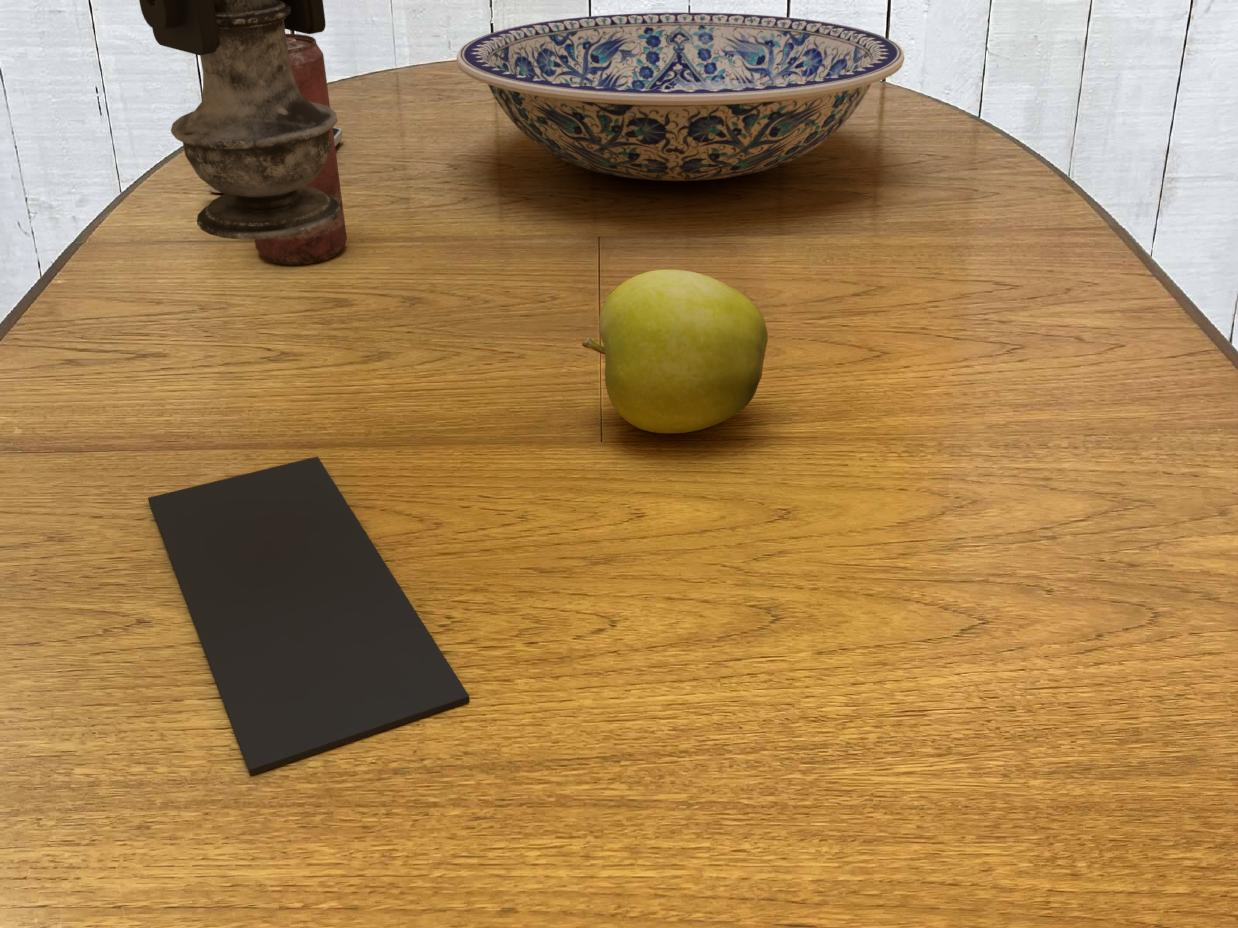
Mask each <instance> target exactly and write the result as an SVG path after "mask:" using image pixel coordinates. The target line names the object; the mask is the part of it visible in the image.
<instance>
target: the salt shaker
mask: <svg viewBox="0 0 1238 928" xmlns="http://www.w3.org/2000/svg"><path fill="white" fill-rule="evenodd" d="M213 2H214V8H215V14H216V20H217V26H218V32H219V38H220V46H219V47H218V48H217V49H216V52H214V53H210V54H205V55H199V58H200V63H201V68H202V69H201V70H202V95H201V102H200V103H199V104H198V105H197V107H196V108H195V109H194V110H193V111H190V112H188V113H186V114H183V115H182V116H180V117H178V118H177V119H176V120H175V121H174V122H173V123H172V125H171V127H170V132H171V134H172V136H174V138H175V139H176V140H177V141H180V142H182V145H183V151H184V156H185V157H186V159H187V161H188V163H189V164H190V166H191V167H192V169H193V170H194V172H195V174H196V175H197V176H198V178H199V179H200V180H202V181H203V182H204V183H206V184H207V185H208V186H209V185H210V186H211V187H212V188H214V189H215V190H217V191H219V192H221V193H220V194H221V195H220V196H218V197H216V198H214V199H213V200H212V201H210V203H209V204H208V205H206V206H204V207H203V208H202V210H200V212H198V214H197V218H196V225H197V226H198V228H199V229H200V230H201V231H202V232H205V233H207V234H209V235H210V236H214V237H219V238H223V239H231V240H240V241H241V240H242V241H246V240H249V241H251V240H253V241H254V240H261V239H273V238H282V237H287V236H293V235H299V234H302V233H306V232H309V231H313V230H316V229H318V228H321V227H323V226H325V225H328V224H329V223H331V222H332V221H334V220H335V219H336V218H337V217H338V216H339V214H340V213H341V211H340V203H339V202H338V201H336V200H335V199H334V198H333V197H331V196H329V195H327V194H325V193H323V192H322V191H320V190H317V189H315V188H311V187H307V185H308V184H310V183H311V182H313V180H314V179H315V178H316V177H317V175H318V174H319V173H320V172H321V170H322V169H323V168H324V166H325V165H326V163H327V159H328V156H329V152H330V148H331V137H330V130H331V129H332V128H333V127H335V125H336V124H337V123H338V116H337V112H336V111H335V110H333V109H332V108H331V107H330V108H329V107H327V106H324V105H322V104H319V103H314V102H310V101H308V100H307V99H305V98H304V97H303V96H302V95H301V94H300V92H299V89H298V87H297V84H296V82H295V79H294V76H293V73H292V70H291V67H290V62H289V55H288V48H287V40H286V34H287V33H286V29H285V26H284V19H285V18H286V16H287V15H289V14H290V13H291V7H290V6H289V5H287V4H285V3H284V2H282V1H280V0H213Z"/></svg>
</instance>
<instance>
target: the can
mask: <svg viewBox="0 0 1238 928" xmlns="http://www.w3.org/2000/svg"><path fill="white" fill-rule="evenodd" d="M286 40H287V48H288V55H289V62H290V67H291V70H292V73H293V76H294V79H295V82H296V84H297V87H298V89H299V92H300V94H301V95H302V96H303V97H304V98H305V99H307V100H308V101H310V102H314V103H319V104H322V105H324V106H327V107H329V108H331V104H330V96H329V88H328V87H329V86H328V82H327V81H328V79H327V72H326V66H325V56H324V53H323V50H322V49H321V47H319V45H318V43H317V39H316V38H314V36H310V35H308V34H300V33H286ZM330 137H331V148H330V152H329V156H328V159H327V163H326V165H325V166H324V168H323V169H322V170H321V172H320V173H319V174H318V175H317V177H316V178H315V179H314V180H313V182H311V183H310V184H308V185H307V187H311V188H315V189H317V190H320V191H322V192H323V193H325V194H327V195H329V196H331V197H333V198H334V199H335V200H336V201H338V202H339V203H340V211H341V213H340V214H339V216H338V217H337V218H336V219H335V220H334V221H332V222H331V223H329V224H328V225H325V226H323V227H321V228H318V229H316V230H313V231H309V232H306V233H302V234H299V235H293V236H287V237H282V238H273V239H261V240H253V241H254V246H255V249H256V251H257V252H258V254H259V255H260V256H261V257H262V258H263V259H264V260H266V261H267V262H269V263H273V264H276V265H281V266H282V265H285V266H302V265H303V266H305V265H310V264H316V263H320V262H324V261H328V260H330V259H333V258H334V257H337V256H338V255H339V254H341V252H342V251H343V250H344V247H345V245H346V243H347V239H348V235H347V228H346V221H345V214H344V213H345V212H344V206H343V198H342V189H341V182H340V173H339V166H338V159H337V151H336V146H335V142H334V134H333V128H332V129H331V130H330Z"/></svg>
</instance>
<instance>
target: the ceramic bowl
mask: <svg viewBox="0 0 1238 928" xmlns="http://www.w3.org/2000/svg"><path fill="white" fill-rule="evenodd" d="M904 61H905V52H904V50H903V48H902V47H901V45H899V44H898V43H896V42H895V41H893V40H891V39H889V38H888V37H885V36H882V35H880V34H877V33H874V32H871V31H868V30H864V29H860V28H857V27H853V26H848V25H844V24H838V23H832V22H827V21H821V20H820V21H819V20H814V19H807V18H797V17H788V16H777V15H766V14H751V13H750V14H749V13H731V12H729V13H728V12H640V13H639V12H638V13H637V12H636V13H619V14H616V13H615V14H603V15H602V14H601V15H592V16H589V15H588V16H579V17H569V18H562V19H553V20H547V21H540V22H534V23H528V24H523V25H517V26H512V27H508V28H505V29H500V30H497V31H494V32H490V33H487V34H483V35H482V36H479V37H477V38H475V39H473V40H470V41H468V42H467V43H465V44H464V45H462V46H461V47H460V49H459V50H458V51H457V54H456V64H457V67H458V68H459V70H460V71H461V72H462V73H464V74H465V75H466V76H467V77H469V78H472V79H474V80H476V81H478V82H480V83H482V84H485V85H488V88H489V90H490V92H491V94H492V96H493V97H494V99H495V100H496V102H497V104H498V105H499V106H500V108H501V109H502V111H503V112H504V113H505V115H506V116H507V117H508V119H509V120H510V121H511V122H512V124H514V126H516V128H518V129H519V130H520V131H521V132H522V133H523V134H524V135H525V136H527V138H529V140H531V141H532V142H533V143H535V144H536V145H537V146H539V148H542V149H543V150H544V151H546V152H548V153H549V154H551V155H553V156H554V157H556V158H558V159H560V160H562V161H564V162H567V163H569V164H572V165H574V166H577V167H579V168H583V169H587V170H590V171H593V172H596V173H599V174H605V175H611V176H615V177H622V178H627V179H628V178H629V179H637V180H649V181H668V182H688V181H690V182H691V181H705V180H706V181H707V180H720V179H727V178H734V177H741V176H745V175H752V174H755V173H758V172H759V173H760V172H762V171H766V170H770V169H773V168H777V167H780V166H782V165H785V164H788V163H790V162H792V161H794V160H796V159H798V158H801V157H802V156H804V155H805V154H808V153H809V152H811V151H812V150H814V149H815V148H816V147H818V146H819V145H821V144H823V143H824V142H825V141H826V140H828V139H829V138H830V137H832V135H834V133H836V132H837V131H838V130H839V129H840V128H841V127H842V126H843V125H844V124H845V123H846V121H848V120H849V119H850V117H851V116H852V115H853V114H854V112H855V111H856V110H857V109H858V107H859V106H860V104H861V103H862V101H864V98H865V96H866V95H867V93H868V92H869V89H870V88H871V86H872V84H875V83H878V82H880V81H883V80H885V79H887V78H890V77H891V76H893V75H895V73H898V71H899V70H900V69H902V67H903V64H904Z"/></svg>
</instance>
